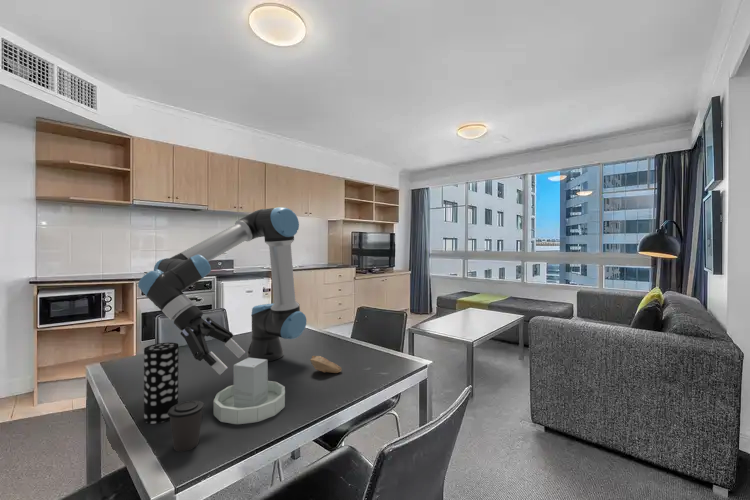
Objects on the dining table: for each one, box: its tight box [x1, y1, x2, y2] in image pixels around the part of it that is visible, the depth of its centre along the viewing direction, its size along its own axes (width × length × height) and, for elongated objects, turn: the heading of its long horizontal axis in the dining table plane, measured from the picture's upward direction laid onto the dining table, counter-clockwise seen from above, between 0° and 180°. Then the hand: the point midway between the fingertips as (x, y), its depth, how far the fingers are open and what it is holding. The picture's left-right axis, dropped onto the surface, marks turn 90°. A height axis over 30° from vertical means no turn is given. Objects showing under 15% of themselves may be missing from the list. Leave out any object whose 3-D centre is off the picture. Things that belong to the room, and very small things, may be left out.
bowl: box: [213, 380, 286, 425], centre depth 103 cm, size 20×20×4 cm
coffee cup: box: [167, 400, 206, 452], centre depth 83 cm, size 8×8×10 cm
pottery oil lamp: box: [309, 355, 342, 374], centre depth 130 cm, size 9×12×7 cm
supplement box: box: [232, 358, 269, 408], centre depth 103 cm, size 7×7×13 cm
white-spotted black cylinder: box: [143, 342, 179, 425], centre depth 97 cm, size 8×8×20 cm
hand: (233, 362), depth 102 cm, fingers open, 13 cm apart
